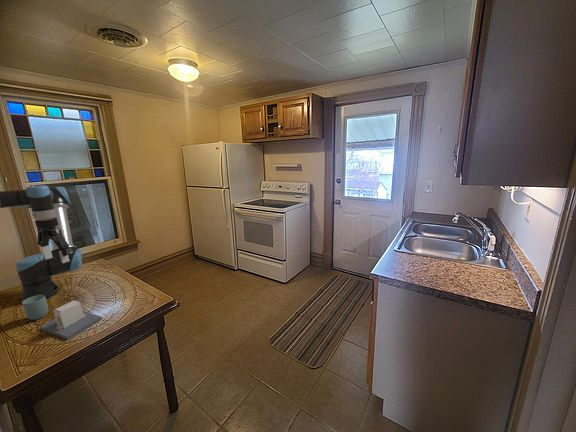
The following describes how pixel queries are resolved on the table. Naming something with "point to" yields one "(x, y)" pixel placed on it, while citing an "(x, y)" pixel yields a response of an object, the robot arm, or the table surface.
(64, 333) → the board
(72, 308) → the housing
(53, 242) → the robot arm
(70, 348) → the table surface
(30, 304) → the cup
